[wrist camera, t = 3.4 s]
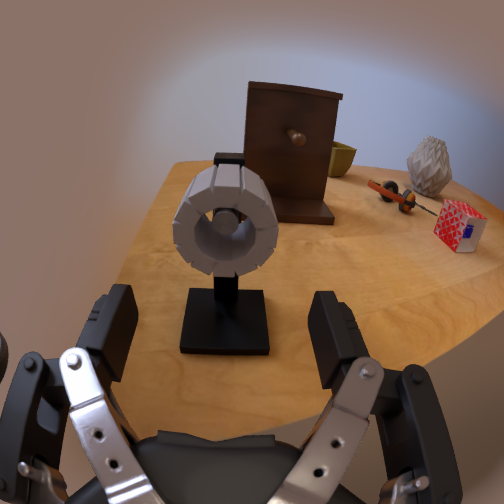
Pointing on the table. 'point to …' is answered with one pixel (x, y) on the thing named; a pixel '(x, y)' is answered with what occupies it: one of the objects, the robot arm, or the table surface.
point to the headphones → (396, 195)
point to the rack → (291, 147)
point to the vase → (429, 167)
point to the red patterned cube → (460, 226)
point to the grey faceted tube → (243, 239)
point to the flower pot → (340, 159)
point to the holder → (225, 302)
